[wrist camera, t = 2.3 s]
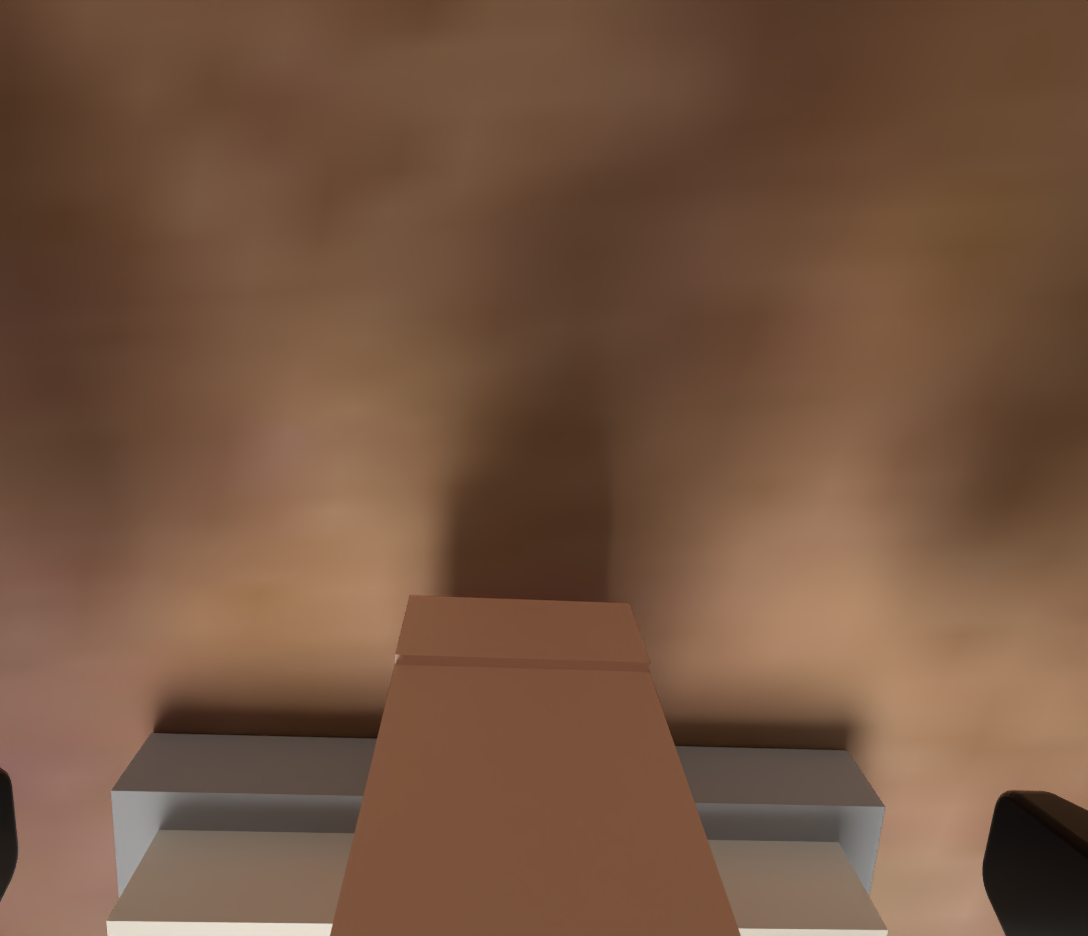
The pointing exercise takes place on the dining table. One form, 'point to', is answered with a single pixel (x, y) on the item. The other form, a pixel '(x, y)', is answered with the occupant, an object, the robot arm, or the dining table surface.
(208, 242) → the dining table surface
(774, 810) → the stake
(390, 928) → the ring
